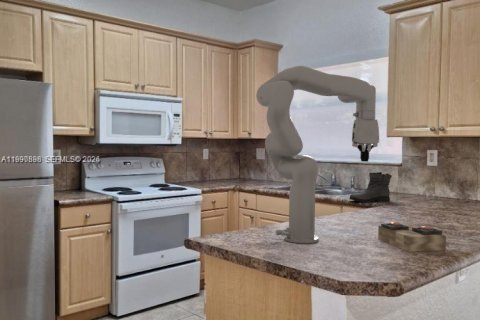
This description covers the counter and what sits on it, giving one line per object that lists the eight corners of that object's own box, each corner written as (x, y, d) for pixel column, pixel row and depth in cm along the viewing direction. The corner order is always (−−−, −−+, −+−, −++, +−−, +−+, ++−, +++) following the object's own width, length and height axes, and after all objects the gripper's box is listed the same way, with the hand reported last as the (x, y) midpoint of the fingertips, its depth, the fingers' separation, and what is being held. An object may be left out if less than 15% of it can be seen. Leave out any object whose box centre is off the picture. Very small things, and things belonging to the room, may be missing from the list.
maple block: (408, 251, 144) (409, 233, 143) (378, 238, 163) (378, 222, 163) (445, 250, 146) (446, 232, 146) (411, 237, 166) (411, 221, 166)
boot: (345, 201, 276) (346, 171, 275) (383, 199, 285) (383, 171, 285) (354, 203, 267) (355, 172, 266) (393, 201, 276) (394, 172, 275)
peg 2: (424, 247, 149) (425, 228, 149) (417, 244, 153) (418, 226, 152) (435, 246, 150) (435, 227, 149) (427, 244, 153) (428, 225, 153)
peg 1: (392, 242, 156) (392, 224, 156) (386, 239, 160) (387, 222, 160) (402, 241, 157) (402, 223, 157) (396, 239, 161) (396, 221, 161)
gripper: (352, 115, 168) (351, 161, 169) (387, 116, 171) (386, 161, 172) (344, 116, 176) (343, 161, 176) (377, 117, 179) (376, 161, 179)
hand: (364, 161), depth 174 cm, fingers closed
